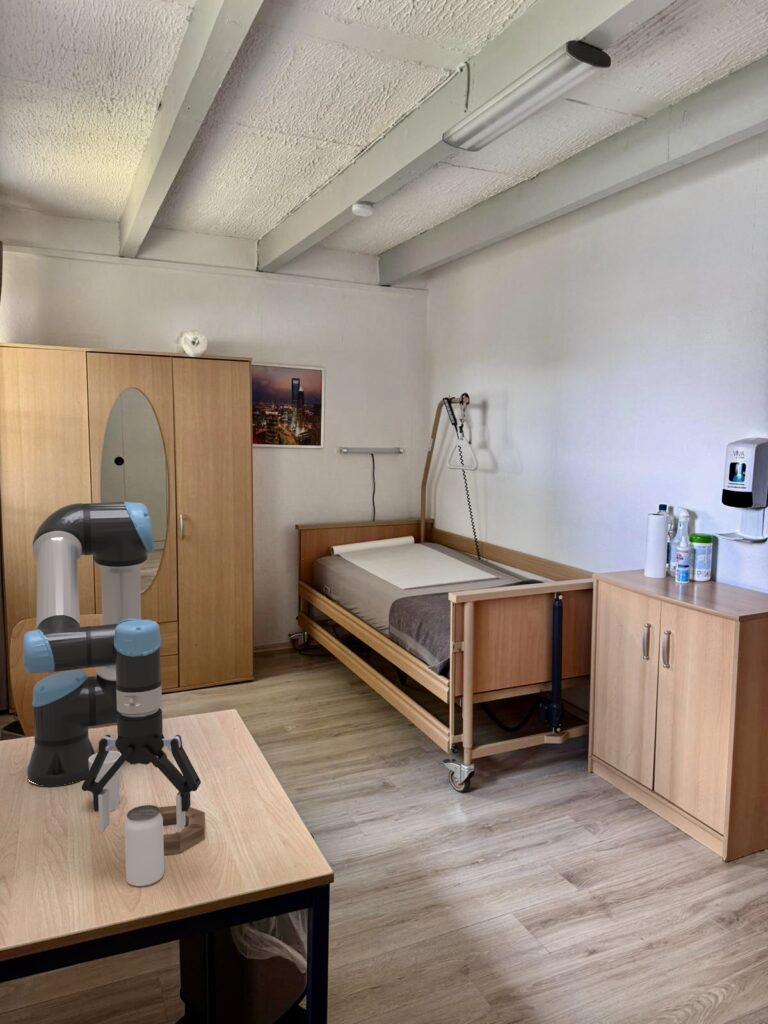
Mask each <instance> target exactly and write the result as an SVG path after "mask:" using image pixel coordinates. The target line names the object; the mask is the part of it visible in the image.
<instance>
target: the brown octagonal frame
mask: <svg viewBox="0 0 768 1024" xmlns="http://www.w3.org/2000/svg"><path fill="white" fill-rule="evenodd" d="M158 807H159V809H160V813H161V815H162V818H163V826H173V825H177V817H176V805H167V806H166V805H165V806H158ZM185 822H186V825H185V826H184V828H183V830H182V831H181V832H177V831H176V832H174V833H166V834H164V833H163V842H164V856H167V855H168V856H170V855H179V854H182V853H184V852H185V851H187V850H188V849H191V848H192V847H194V846H195V845H197V844H199V843H201V842H202V841H204V840H205V830H206V813H205V811H202V810H199V809H197V808H194V807H191V806H190V808H189V809H188V811H185Z"/></svg>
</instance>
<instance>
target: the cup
mask: <svg viewBox="0 0 768 1024" xmlns="http://www.w3.org/2000/svg"><path fill="white" fill-rule="evenodd" d="M97 753H98V752H95V754H93V755H92V756H90V757H89V759H88V763H89V770H90V768H91V766H92V764H93V762H94V760H95V758H96V756H97ZM121 755H122V754H121V753H120V752H119V751H118V750H110V751H109V752H108V754H107V757H106V759H105V761H104V763H103V765H102V767H101V769H100V771H99V773H98V775H97V777H96V780H95V782H99V781H100V780H101V779H102V777H103V776H104V775H105V774H106V773H107V771H108V770H109V769H110V768H111V767H112V765H113V764H114V763H115V762H116V761H117V759H118V758H119V757H120V756H121ZM122 768H123V765H122V766H121V767H120V768H119V770H118V771H117V772H116V773H115V774H114V776H113V777H112V778H111V779H110V780H109V781H108V783H107V784H106V785H105V786H104V787H103V790H104V789H109V813H110V812H115V810H117V809H118V808H120V793H121V792H120V791H121V790H120V785H121V771H122ZM94 812H97V813H99V811H94Z"/></svg>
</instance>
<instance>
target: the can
mask: <svg viewBox="0 0 768 1024" xmlns="http://www.w3.org/2000/svg"><path fill="white" fill-rule="evenodd" d="M159 807H160V806H157V805H153V804H144V805H139V806H136V807H133V808H131V809H129V811H128V812H127V813H126V818H125V821H124V850H125V851H124V852H125V853H124V857H125V877H126V882H127V883H128V884H129V885H130V886H131V887H132V886H133V887H137V888H144V887H149V886H152V885H154V884H157V883H158V882H159V881H160V880H161V879H162V877H163V876H164V873H165V855H164V842H163V834H164V825H163V818H162V815H161V813H160V809H159Z"/></svg>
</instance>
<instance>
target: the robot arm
mask: <svg viewBox="0 0 768 1024" xmlns="http://www.w3.org/2000/svg"><path fill="white" fill-rule="evenodd" d="M152 527H153V526H152V524H151V517H150V514H149V510H148V507H147V506H146V504H144V503H142V502H132V501H131V502H130V501H129V502H127V501H116V502H115V501H114V502H91V503H88V502H87V503H83V502H81V503H78V502H77V503H72V504H68V505H65V506H63V507H61V508H59V509H57V510H55V511H54V512H52V513H51V514H50V515H49V516H48V517H47V518H45V520H43V522H41V524H40V525H39V527H38V528H37V530H36V532H35V534H34V537H33V540H32V555H33V558H34V560H35V561H36V562H37V573H36V574H37V577H36V581H37V582H36V587H37V588H36V625H35V626H36V627H35V628H36V629H34V630H30V631H26V632H25V633H24V635H23V638H22V639H23V641H22V649H23V651H22V652H23V653H22V655H23V657H22V658H23V667H24V670H25V671H26V672H27V673H29V674H41V673H42V674H43V673H46V674H47V673H48V674H50V675H48V676H45V677H44V678H42V679H40V680H39V681H37V683H36V684H35V685H34V686H33V690H32V693H33V694H32V703H31V706H32V707H33V736H34V739H33V740H34V744H33V745H34V746H33V748H32V752H31V756H30V759H29V763H28V765H27V771H26V773H27V775H26V776H28V777H27V780H28V779H29V780H30V781H32V782H34V783H36V784H38V785H43V786H42V787H46V786H51V787H60V786H59V785H62V786H65V785H64V784H67V785H70V784H69V783H72V782H75V783H77V782H76V781H78V782H80V781H79V780H81V779H83V778H86V779H84V780H83V783H82V786H81V790H82V791H83V792H90V793H91V794H92V798H93V800H92V803H93V810H94V812H95V811H99V812H98V830H99V833H101V832H103V833H104V832H105V831H106V830H107V828H108V827H109V826H110V824H111V823H110V820H111V819H110V812H109V789H104V790H103V787H104V786H105V785H106V784H107V783H108V781H109V780H110V779H111V778H112V777H113V776H114V774H115V773H116V772H117V771H118V770H119V768H120V767H121V766H122V767H123V765H124V764H125V762H127V763H129V764H130V765H138V764H141V765H149V764H150V763H151V764H152V765H153V766H154V767H155V768H157V769H158V770H159V771H160V772H161V773H162V775H164V776H165V778H166V779H167V780H168V781H169V782H170V783H171V784H172V786H174V788H175V789H176V790H177V791H178V792H177V793H176V795H175V806H176V817H177V824H176V832H181V831H182V830H183V828H185V827H184V826H185V825H186V822H185V811H188V809H189V808H190V807H191V802H192V801H191V792H196V791H197V790H198V789H199V787H200V786H201V784H202V781H201V778H200V777H199V775H198V773H197V771H196V770H195V768H194V766H193V763H192V762H191V760H190V758H189V756H188V754H187V753H186V751H185V749H184V747H183V739H182V736H181V735H180V734H176V735H174V736H173V737H165V736H164V734H163V731H164V730H163V710H162V709H161V708H162V706H163V696H162V692H163V691H162V679H161V678H162V675H161V674H162V673H161V672H162V670H161V669H162V667H161V666H162V664H161V646H162V645H161V644H162V638H161V631H160V630H161V629H160V625H159V623H158V622H157V621H155V620H151V619H142V601H141V600H142V599H141V598H142V595H141V594H142V593H141V591H142V590H141V589H142V585H141V571H142V570H141V567H142V566H143V565H144V564H145V563H146V562H147V561H148V554H151V553H152V552H154V551H155V542H154V535H153V529H152ZM81 556H93V562H94V564H95V565H96V566H97V567H99V568H100V575H101V578H100V579H101V615H102V617H101V618H102V619H101V620H102V621H101V622H102V624H99V625H88V626H87V625H85V626H81V613H80V612H81V611H80V592H79V573H78V572H79V571H78V569H79V567H78V560H79V559H80V558H81ZM90 668H91V669H92V668H96V675H93V676H92V675H91V676H88V673H87V672H86V671H85V670H84V669H90ZM52 673H53V674H52ZM112 724H116V727H117V728H116V729H117V730H116V733H117V737H111V735H110V734H106V735H104V736H103V737H102V738H101V739H100V740H99V741H98V747H97V748H98V751H97V752H95V749H94V747H93V744H92V742H91V739H90V736H89V728H90V727H98V726H99V727H100V726H105V725H112ZM114 746H115V748H116V749H117V752H120V753H121V754H122V755H121V756H120V757H119V758H118V759H117V761H116V762H115V763H114V764H113V765H112V767H111V768H110V769H109V770H108V771H107V773H106V774H105V775H104V776H103V777H102V779H101V780H100V781H99V782H95V780H96V777H97V775H98V773H99V771H100V769H101V767H102V765H103V763H104V761H105V759H106V757H107V754H108V752H109V751H112V749H114ZM164 747H167V750H168V751H169V752H171V754H172V756H173V759H174V760H175V763H176V764H177V766H178V768H179V769H178V768H177V767H176V765H174V764H173V762H172V761H171V760H170V759H169V758H168V755H167V753H165V752H164V751H163V748H164ZM96 753H97V756H96V758H95V760H94V762H93V764H92V766H91V768H90V770H89V763H88V759H89V757H90V756H92V755H93V754H96ZM81 781H82V780H81ZM72 784H73V783H72ZM57 785H58V786H57Z"/></svg>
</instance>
